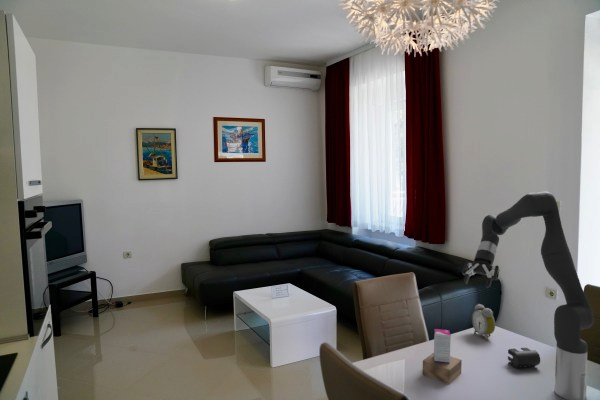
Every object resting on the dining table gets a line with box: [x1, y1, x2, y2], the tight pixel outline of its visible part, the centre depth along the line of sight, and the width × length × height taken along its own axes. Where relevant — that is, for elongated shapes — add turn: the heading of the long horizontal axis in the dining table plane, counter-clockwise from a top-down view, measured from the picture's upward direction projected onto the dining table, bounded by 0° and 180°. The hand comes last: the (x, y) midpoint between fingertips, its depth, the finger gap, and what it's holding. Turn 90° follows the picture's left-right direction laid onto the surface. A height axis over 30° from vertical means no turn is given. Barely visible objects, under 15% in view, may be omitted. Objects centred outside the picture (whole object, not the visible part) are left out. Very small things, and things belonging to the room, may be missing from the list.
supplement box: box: [433, 328, 452, 364], centre depth 162 cm, size 6×6×12 cm
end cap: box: [507, 346, 541, 369], centre depth 168 cm, size 10×7×7 cm
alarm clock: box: [471, 303, 496, 341], centre depth 198 cm, size 12×7×15 cm, turn 10°
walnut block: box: [422, 352, 463, 385], centre depth 162 cm, size 11×11×6 cm
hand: (476, 285), depth 171 cm, fingers open, 8 cm apart
